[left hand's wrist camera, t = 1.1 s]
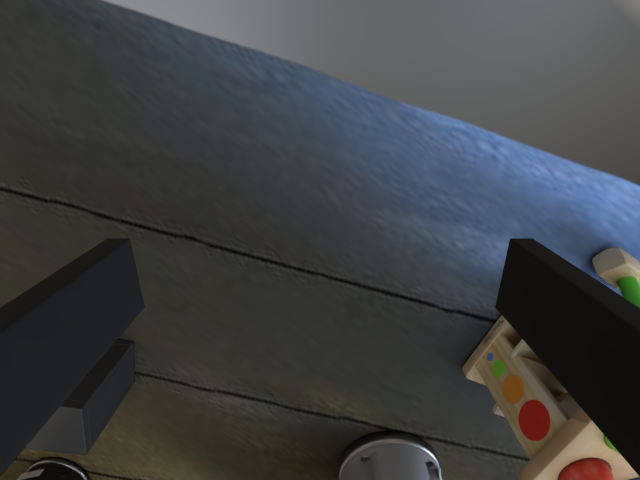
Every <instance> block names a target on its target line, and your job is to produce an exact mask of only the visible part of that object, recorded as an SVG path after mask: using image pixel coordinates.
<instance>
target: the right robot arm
mask: <svg viewBox="0 0 640 480" xmlns="http://www.w3.org/2000/svg"><path fill="white" fill-rule="evenodd" d="M17 480H89V477H88V475H87V474H86V473H85V471H84V470H83V469H81V468H80V467H79V466H77V465H75V464H73V463H71V462H69V461H66V460H62V459H57V458H45V459H41V460H38V461H36V462H34V463H33V464H32V465H31V466H30V468H29V469H28V470H27V472H26V473H23V474H21V475H20V476H19V478H18V479H17Z"/></svg>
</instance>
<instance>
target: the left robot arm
mask: <svg viewBox="0 0 640 480" xmlns="http://www.w3.org/2000/svg"><path fill="white" fill-rule="evenodd" d="M143 308H144V302H143V298H142V293H141V288H140V284H139V279H138V274H137V270H136V265H135V261H134V256H133V251H132V247H131V242H130V239H106V240H105V241H103V242H102V243H100V244H98V245H97V246H95V247H94V248H92V249H91V250H89V251H88V252H86V253H85V254H83V255H81V256H80V257H78V258H77V259H75V260H74V261H72V262H71V263H69V264H68V265H66V266H64V267H63V268H61V269H60V270H58V271H57V272H55V273H54V274H52V275H51V276H49V277H47V278H46V279H44V280H43V281H41V282H40V283H38V284H37V285H35V286H34V287H32V288H30V289H29V290H27V291H26V292H24V293H23V294H21V295H20V296H18V297H17V298H15V299H13V300H12V301H10V302H9V303H7V304H6V305H4V306H3V307H1V308H0V476H1V475H2V474H3V473H4V472H5V471H6V469H7V468H8V467H9V466H10V465H11V464H12V462H13V461H14V460H15V459H16V458H17V456H18V455H19V454H20V453H21V452H22V451H23V449H24V448H25V447H26V446H27V445H28V444H29V442H30V441H31V440H32V439H33V438H34V436H35V435H36V434H37V433H38V432H39V431H40V429H41V428H42V427H43V426H44V425H45V424H46V422H47V421H48V420H49V419H50V418H51V417H52V415H53V414H54V413H55V412H56V411H57V409H58V408H59V407H60V406H61V405H62V404H63V402H64V401H65V400H66V399H67V398H68V397H69V395H70V394H71V393H72V392H73V391H74V389H75V388H76V387H77V386H78V385H79V384H80V382H81V381H82V380H83V379H84V378H85V377H86V375H87V374H88V373H89V372H90V371H91V370H92V368H93V367H94V366H95V365H96V364H97V362H98V361H99V360H100V359H101V358H102V357H103V355H104V354H105V353H106V352H107V351H108V350H109V348H110V347H111V346H112V345H113V344H114V342H115V341H116V340H117V339H118V338H119V337H120V335H121V334H122V333H123V332H124V331H125V330H126V328H127V327H128V326H129V325H130V324H131V323H132V321H133V320H134V319H135V318H136V317H137V315H138V314H139V313H140V312H141V311H142V310H143ZM496 308H497V310H498V311H499V312H500V313H501V314H502V315H503V317H504V318H505V319H506V320H507V321H508V323H509V324H510V325H511V326H512V327H513V328H514V330H515V331H516V332H517V333H518V334H519V335H520V337H521V338H522V339H523V340H524V341H525V342H526V344H527V345H528V346H529V347H530V348H531V350H532V351H533V352H534V353H535V354H536V355H537V357H538V358H539V359H540V360H541V361H542V362H543V364H544V365H545V366H546V367H547V368H548V370H549V371H550V372H551V373H552V374H553V375H554V377H555V378H556V379H557V380H558V381H559V382H560V384H561V385H562V386H563V387H564V388H565V389H566V391H567V392H568V393H569V394H570V395H571V397H572V398H573V399H574V400H575V401H576V402H577V404H578V405H579V406H580V407H581V408H582V409H583V411H584V412H585V413H586V414H587V415H588V417H589V418H590V419H591V420H592V421H593V422H594V424H595V425H596V426H597V427H598V428H599V429H600V431H601V432H602V433H603V434H604V435H605V436H606V438H607V439H608V440H609V441H610V442H611V444H612V445H613V446H614V447H615V448H616V449H617V451H618V452H619V453H620V454H621V455H622V456H623V458H624V459H625V460H626V461H627V462H628V464H629V465H630V466H631V467H632V468H633V469H634V471H635V472H636V473H637V474H638V475H639V476H640V308H639V307H637V306H636V305H634V304H633V303H631V302H630V301H628V300H627V299H625V298H623V297H622V296H620V295H619V294H617V293H616V292H614V291H613V290H611V289H610V288H608V287H606V286H605V285H603V284H602V283H600V282H599V281H597V280H596V279H594V278H593V277H591V276H589V275H588V274H586V273H585V272H583V271H582V270H580V269H579V268H577V267H576V266H574V265H572V264H571V263H569V262H568V261H566V260H565V259H563V258H562V257H560V256H559V255H557V254H555V253H554V252H552V251H551V250H549V249H548V248H546V247H545V246H543V245H542V244H540V243H538V242H537V241H535V240H534V239H510V242H509V247H508V251H507V256H506V261H505V265H504V270H503V274H502V279H501V284H500V288H499V293H498V298H497V302H496ZM339 480H442V478H441V470H440V466H439V463H438V460H437V457H436V454H435V452H434V450H433V449H432V448H431V446H430V445H429V444H428V443H426V442H425V441H424V440H422V439H420V438H418V437H416V436H414V435H411V434H407V433H402V432H381V433H376V434H372V435H368V436H366V437H363V438H361V439H359V440H358V441H356V442H354V443H353V444H352V445H351V446H349V447H348V448H347V449H346V451H345V452H344V453H343V455H342V457H341V459H340V462H339Z"/></svg>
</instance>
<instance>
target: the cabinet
mask: <svg viewBox="0 0 640 480" xmlns="http://www.w3.org/2000/svg"><path fill="white" fill-rule="evenodd" d="M134 382H135V370H134V342H133V341H126V340H119V339H117V340H116V341H115V342H114V344H113V345H112V346H111V347H110V348H109V350H108V351H107V352H106V353H105V354H104V355H103V357H102V358H101V359H100V360H99V361H98V362H97V364H96V365H95V366H94V367H93V368H92V370H91V371H90V372H89V373H88V374H87V375H86V377H85V378H84V379H83V380H82V381H81V382H80V384H79V385H78V386H77V387H76V388H75V389H74V391H73V392H72V393H71V394H70V395H69V397H68V398H67V399H66V400H65V401H64V402H63V404H62V405H61V406H60V407H59V408H58V409H57V411H56V412H55V413H54V414H53V415H52V417H51V418H50V419H49V420H48V421H47V422H46V424H45V425H44V426H43V427H42V428H41V429H40V431H39V432H38V433H37V434H36V435H35V436H34V438H33V439H32V440H31V441H30V442H29V444H28V445H27V446H26V447H25V448H30V449H39V450H47V451H55V452H64V453H72V454H81V455H87V453H88V452H89V450H90V449H91V447H92V446H93V444H94V443H95V441H96V440H97V438H98V436H99V435H100V433H101V432H102V430H103V429H104V427H105V426H106V424H107V423H108V421H109V420H110V418H111V417H112V415H113V414H114V412H115V411H116V409H117V408H118V406H119V405H120V403H121V402H122V400H123V399H124V397H125V396H126V394H127V393H128V391H129V390H130V388H131V386H132V385H133V383H134Z"/></svg>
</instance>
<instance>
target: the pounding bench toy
mask: <svg viewBox="0 0 640 480" xmlns="http://www.w3.org/2000/svg"><path fill="white" fill-rule="evenodd" d="M592 262H593V265H594V268H595V270H596V273H597V275H598V276H599V277H600V278H602V279H603V280H604V281H606V282H607V283H609V284H610V285H612V286H613V287H615V288H616V289H617V290H619V291H620V292H621V293H622V295H623V298H625V299H627V300H628V301H630V302H631V303H633V304H634V305H636V306H637V307H639V308H640V262H639V261H638V260H636V259H635V258H634V257H632V256H631V255H629V254H628V253H627V252H625V251H624V250H622V249H621V248H619V247H613V248H609V249H606V250H604V251H602V252H600V253H599V254H597V255H596V256H595V257H594V258H593V259H592ZM462 370H463V372H464V374H465V376H466V378H468V379H470V380H472V381H475V382H478V383H481V384H483V385H486V386H487V387H488V389H489V391H490V393H491V394H492V396H493V398H494V399H495V401H496V404H495V405H494V407H493V409H492V411H493V412H494V414H497V415H500V416H503V417H505V418H506V420H507V421H508V423H509V425H510V427H511V428H512V430H513V432H514V433H515V435H516V437H517V439H518V440H519V442H520V444H521V445H522V447H523V449H524V450H525V452H526V454H527V455H528V457H529V459H530V461H529V462H528V463H527V464H526V465H525V466H524V467H523V468H522V469H521V470H520V471H519V473H518V478H519V480H640V476H639V475H638V474H637V473H636V472H635V471H634V469H633V468H632V467H631V466H630V465H629V464H628V462H627V461H626V460H625V459H624V458H623V456H622V455H621V454H620V453H619V452H618V451H617V449H616V448H615V447H614V446H613V445H612V444H611V442H610V441H609V440H608V439H607V438H606V436H605V435H604V434H603V433H602V432H601V431H600V429H599V428H598V427H597V426H596V425H595V424H594V422H593V421H592V420H591V419H590V418H589V417H588V415H587V414H586V413H585V412H584V411H583V409H582V408H581V407H580V406H579V405H578V404H577V402H576V401H575V400H574V399H573V398H572V397H571V395H570V394H569V393H568V392H567V391H566V389H565V388H564V387H563V386H562V385H561V384H560V382H559V381H558V380H557V379H556V378H555V377H554V375H553V374H552V373H551V372H550V371H549V370H548V368H547V367H546V366H545V365H544V364H543V362H542V361H541V360H540V359H539V358H538V357H537V355H536V354H535V353H534V352H533V351H532V350H531V348H530V347H529V346H528V345H527V344H526V342H525V341H524V340H523V339H522V338H521V337H520V335H519V334H518V333H517V332H516V331H515V330H514V328H513V327H512V326H511V325H510V324H509V323H508V321H507V320H506V319H505V318H504V317H503V315H501V316H500V318H499V319H498V320H497V321H496V323H495V324H494V325H493V327H492V328H491V329H490V331H489V332H488V333H487V335H486V336H485V337H484V339H483V340H482V341H481V343H480V344H479V345H478V347H477V348H476V349H475V351H474V352H473V353H472V355H471V356H470V357H469V359H468V360H467V361H466V363H465V364H464V366H463V367H462Z"/></svg>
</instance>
